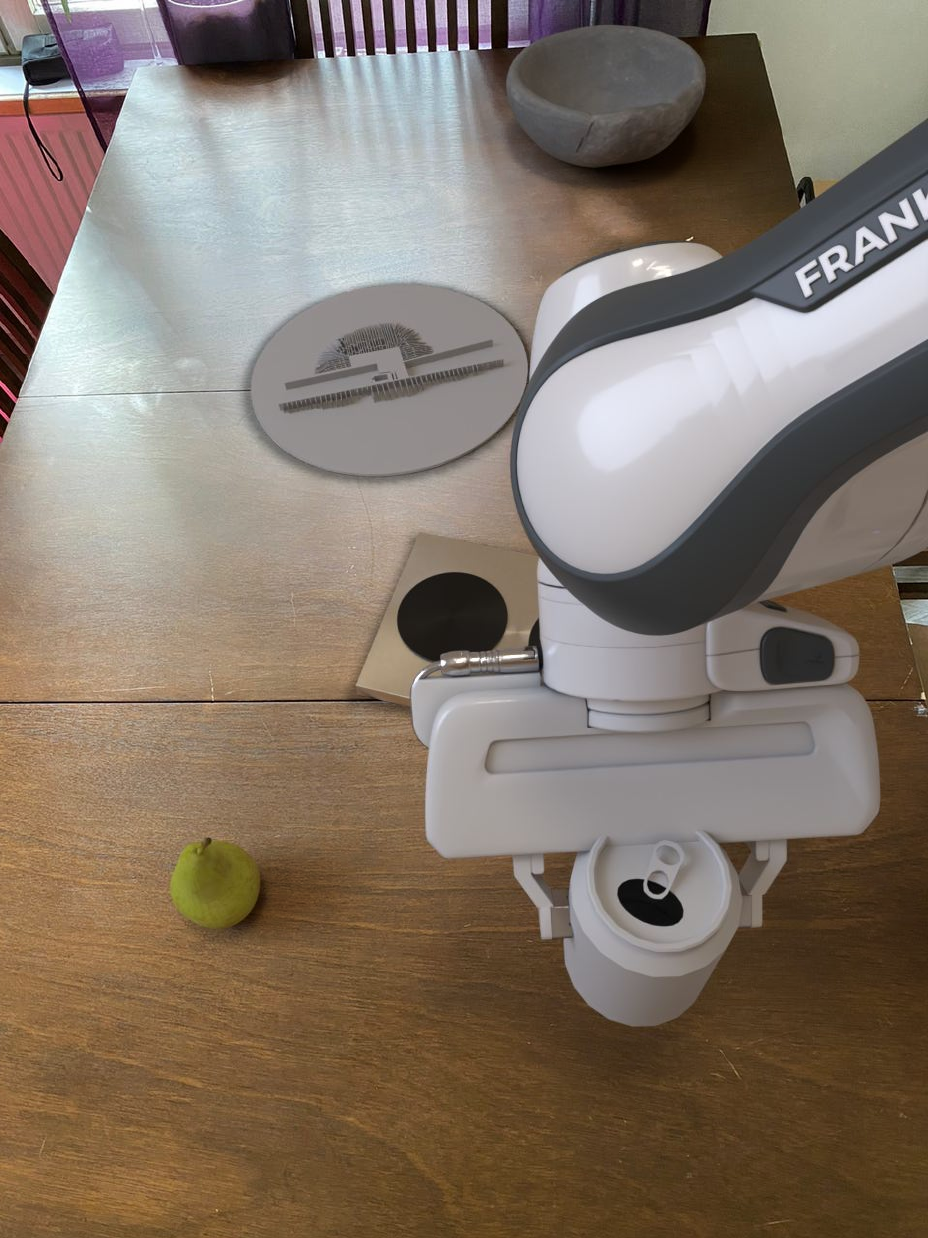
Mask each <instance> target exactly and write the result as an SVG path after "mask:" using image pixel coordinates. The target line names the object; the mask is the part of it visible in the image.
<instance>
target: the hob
mask: <svg viewBox="0 0 928 1238" xmlns="http://www.w3.org/2000/svg"><path fill="white" fill-rule="evenodd" d="M538 560H539V556H538V554H532V553H527V552H522V551H517V550H512V549H507V548H503V547H497V546H492V545H487V544H483V543H477V542H472V541H467V540H462V539H457V538H452V537H447V536H442V535H437V534H431V533H426V532H421V531H419V532H418V534H417V537H416V539H415V542H414V544H413V547H412V549H411V551H410V553H409V556H408V558H407V561H406V563H405V565H404V568H403V570H402V572H401V575H400V578H399V580H398V582H397V583H396V587H395V590H394V591H393V594H392V597H391V599H390V600H389V601H390V602H389V604H388V606H387V609H386V611H385V613H384V615H383V618H382V620H381V623H380V625H379V627H378V630H377V632H376V635H375V638H374V639H373V642H372V645H371V647H370V650H369V651H368V654H367V655H366V659H365V661H364V663H363V666H362V668H361V671H360V673H359V676H358V678H357V681H356V683H355V688H356V692H357V695H358V696H361V697H362V696H363V697H366V698H371V699H375V700H379V701H383V702H387V703H391V704H394V705H395V704H396V705H400V706H404V707H408V708H410V697H409V695H410V688H411V685H412V682H413V680H414V679H415V677H416V675H417V674H418V673H419V672H420V671H421V670H422V669H423V668H424V667H426V666H427V665H429V664H431V663H433V662H436V661H440V656H441V654H444V653H448V652H452V651H469V652H483V651H485V652H487V651H490V650H491V651H493V650H495V649H497V650H499V649H501V648H512V647H525V646H537V645H539V643H541V641H540V626H539V607H538V587H537V566H538ZM539 671H540V677H542V669H541V668H540V667H539ZM481 673H482V672H481ZM486 673H488V672H486ZM471 674H473V673H471ZM429 676H442V674H441V670H438V671H435V672H433V673H431V674H430V675H429Z"/></svg>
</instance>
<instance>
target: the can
mask: <svg viewBox="0 0 928 1238" xmlns="http://www.w3.org/2000/svg"><path fill="white" fill-rule="evenodd" d="M695 834H696V835H697V837H698V839H699V841H698V842H682V843H674V842H672V841H667V840H663V841H660V842H658V843H657V844H648V845H631V846H614V847H605V846H606V844H607V842H608V840H609V836H601V837H600V838H598V839H597V841H596V843H595V844H594V846H593V847H592V849H591V851H579V852H577V854H576V856H575V860H574V864H573V867H572V871H571V875H570V880H569V888H568V893H569V897H568V899H569V904H570V925H571V927H572V929H573V938H564V939H563V953H564V954H563V955H564V965H565V967H566V970H567V973H568V975H569V978H570V980H571V983H572V986H573V988H574V989H575V990H576V991H577V993H578V994H579V995H580V996H581V998H582V999H583V1000H584V1001H585V1002H586V1003H587V1005H588V1006H589V1007H590V1008H592V1009H593V1010H595V1011H596V1012H598V1013H599V1014H600V1015H602V1016H603V1017H604V1018H606V1019H607V1020H609V1021H612V1022H616V1023H619V1024H622V1025H626V1026H629V1027H633V1028H634V1027H657V1026H659V1025H662V1024H664V1023H668V1022H670V1021H672V1020H675V1019H677V1018H679V1017H680V1016H681V1015H682V1014H683V1013H684V1012H685V1011H687V1010H688V1009H689V1008H690V1007H691V1006H692V1005H694V1004H695V1003H696V1000H697V999H698V997H699V996H700V994H701V992H702V990H703V989H704V987H705V985H706V984H707V982H708V981H709V979H710V977H711V975H712V974H713V972H714V970H715V969H716V967H717V965H718V964H719V962H720V960H721V958H722V957H723V956H724V954H725V952H726V951H727V948H728V946H729V945H730V943H731V941H732V939H733V937H734V936H735V934H736V932H737V930H738V929H739V928H738V926H739V920H740V913H741V907H742V895H741V890H740V884H739V878H738V876H739V874H738V872H737V870H736V868H735V866H734V863H732V861H731V858H730V857H729V855H728V852H727V851H726V849H724V847H723V846H721V843H717V842H716V841H715V840H714V839H713V838H712V837H711V836H710V835H709V834H708V833H707V832H706V831H704V830H696V832H695ZM737 928H738V929H737Z"/></svg>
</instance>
